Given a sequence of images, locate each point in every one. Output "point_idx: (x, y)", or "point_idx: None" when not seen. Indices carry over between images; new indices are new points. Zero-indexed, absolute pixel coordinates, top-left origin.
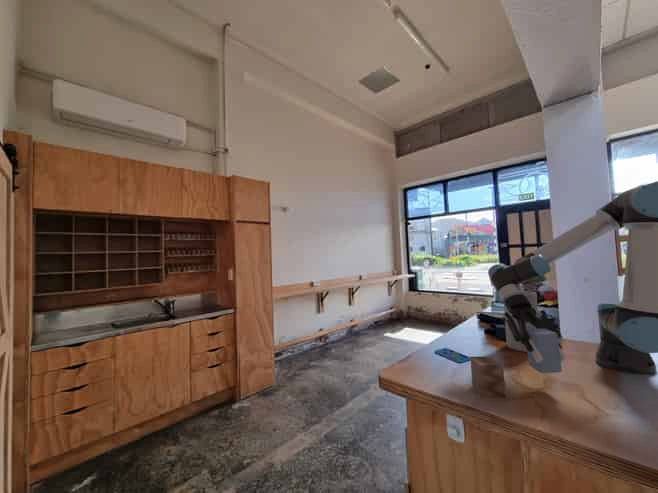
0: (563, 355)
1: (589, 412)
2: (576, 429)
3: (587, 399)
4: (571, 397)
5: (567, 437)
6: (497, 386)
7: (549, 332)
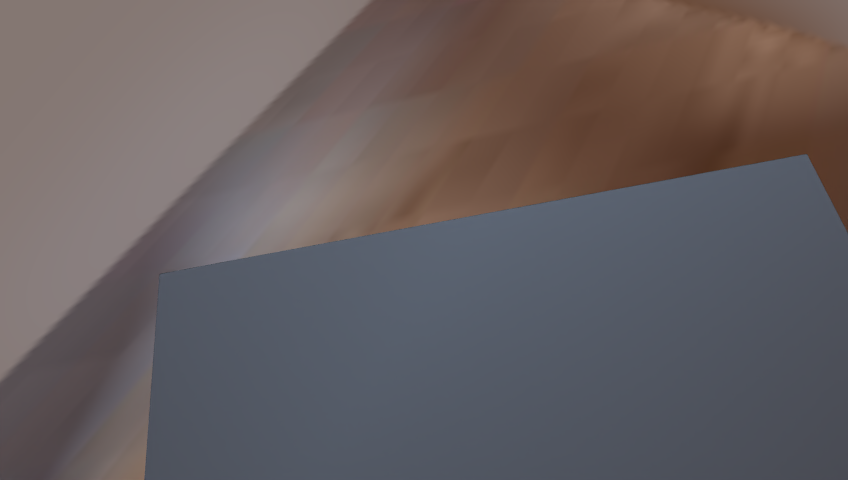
0: None
1: None
2: (580, 73)
3: None
4: None
5: (654, 7)
6: None
7: (325, 358)
